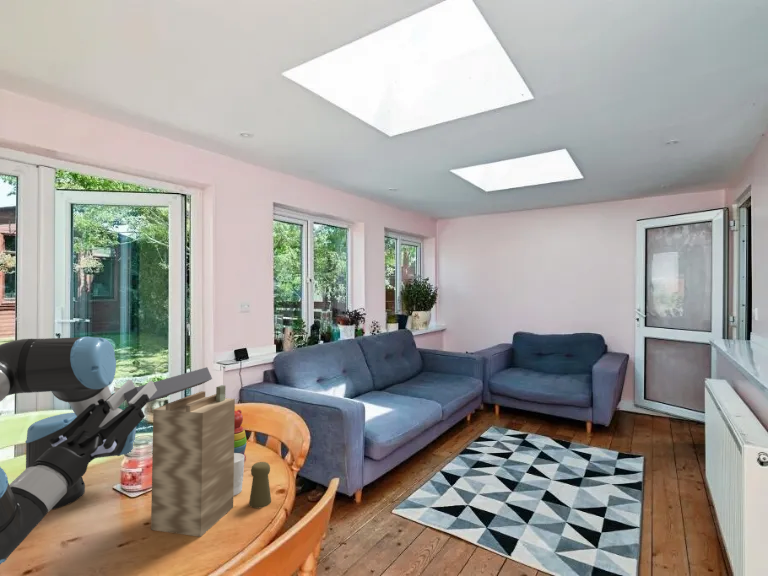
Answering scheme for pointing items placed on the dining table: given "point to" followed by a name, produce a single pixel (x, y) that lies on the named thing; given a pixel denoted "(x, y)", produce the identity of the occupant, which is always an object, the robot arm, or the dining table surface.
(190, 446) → the tall wooden block
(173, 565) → the dining table surface
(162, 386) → the bar
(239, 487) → the white cup
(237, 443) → the stacking bear
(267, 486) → the olive pawn
